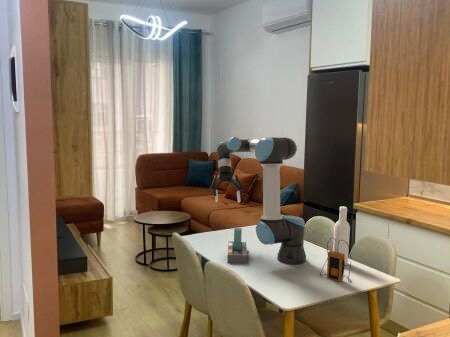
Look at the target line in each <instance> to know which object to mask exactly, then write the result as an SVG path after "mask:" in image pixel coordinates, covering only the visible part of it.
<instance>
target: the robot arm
mask: <svg viewBox="0 0 450 337" xmlns="http://www.w3.org/2000/svg"><path fill="white" fill-rule="evenodd" d="M297 150H298V148H297V144H296V142H295V141H294V140H293V139H292V138H290V137H285V136H284V137H273V136H272V137H271V136H267V137H262V138H260V139H256V138H255V139H253V138H252V139H249V138H248V139H241V138H239V137H237V136H232V137H230V138H229V139H228V140H227V141H221V142H219V143H217V144H216V154H217V164H218V174H217V173H215V174H214V176H213V180H212V182H211V185H210V187H209V190H210V191H212V192H213V197H215V198H214V199H215V203H218V202H219V195H218V193H219V192H218V187H219V186H220V185H221V184H222V183H224V184H225V183H227V184H230V185H231V186H232V187H233V188H234V189H235V190H236V197H237V198H236V199H237V200H236V201H237V203H238V204H239V203H241V197H242V191H244V189H245V188H244V187H243V185H242V183H241V181H240V180H239V178H238V177H239V176H238V175H237V174H235V175H233V171H232V162H231V161H232V160H231V156H232V155H233V154H234V153H254V157H255V158H256V160H258V161H259V165H260V166H261V167H262V206H263V207H262V208H263V210H262V212H263V214H261V216H260V219H259V220H260V221H259V222H258V223H257V224H256V226H255V234H256V237H257V239H258V241H259V242H260V243H261V244H263V245H264V246H265V245H275V244H280V247H279V249H278V252H277V258H276V259H277V261H279V262H281V263H284V264H290V265H301V264H304V263H306V262H307V255H306V250H305V247H304V243H305V229H306V228H305V226H306V225H305V220H304V219H303V218H302V217H298V216H296V215H295V216H294V215H285V214H284V215H282V214H281V170H280V169H281V167H282V165H283V164H284V161H288V160H290V159H292V158H293V157H294V156H295V155H296V154H297ZM218 179H219V181H218V183H217V180H218ZM216 183H217V184H216Z"/></svg>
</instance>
